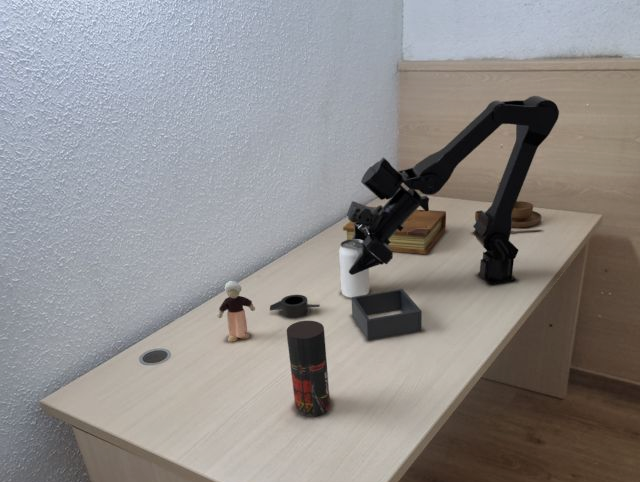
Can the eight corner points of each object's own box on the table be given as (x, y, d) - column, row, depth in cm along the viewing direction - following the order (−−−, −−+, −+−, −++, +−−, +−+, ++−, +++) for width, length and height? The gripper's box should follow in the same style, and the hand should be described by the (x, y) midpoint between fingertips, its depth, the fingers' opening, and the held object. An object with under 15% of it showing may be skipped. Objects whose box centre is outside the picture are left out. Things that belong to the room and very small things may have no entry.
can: (358, 301, 138) (355, 251, 131) (335, 294, 141) (332, 245, 135) (375, 290, 142) (373, 241, 135) (353, 284, 145) (350, 236, 139)
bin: (402, 307, 134) (402, 288, 131) (421, 330, 124) (421, 311, 122) (352, 316, 132) (351, 297, 129) (367, 340, 122) (366, 320, 120)
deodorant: (294, 398, 107) (285, 322, 99) (328, 394, 107) (322, 318, 99) (296, 418, 102) (287, 340, 94) (331, 414, 102) (325, 336, 94)
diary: (445, 230, 172) (446, 210, 169) (426, 255, 158) (426, 233, 155) (369, 224, 181) (368, 204, 178) (344, 246, 167) (343, 226, 164)
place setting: (549, 231, 165) (552, 209, 162) (474, 236, 166) (476, 214, 163) (531, 210, 180) (533, 190, 177) (462, 215, 181) (463, 195, 178)
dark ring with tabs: (289, 300, 141) (287, 289, 139) (323, 310, 135) (322, 298, 134) (266, 314, 135) (265, 302, 134) (302, 324, 130) (300, 312, 128)
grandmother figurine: (226, 346, 125) (216, 289, 118) (220, 338, 128) (210, 282, 121) (261, 335, 127) (253, 279, 121) (254, 328, 130) (246, 273, 124)
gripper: (362, 177, 137) (316, 229, 143) (375, 202, 121) (324, 259, 127) (397, 208, 142) (352, 258, 147) (414, 236, 126) (363, 290, 131)
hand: (347, 265), depth 138 cm, fingers open, 9 cm apart
